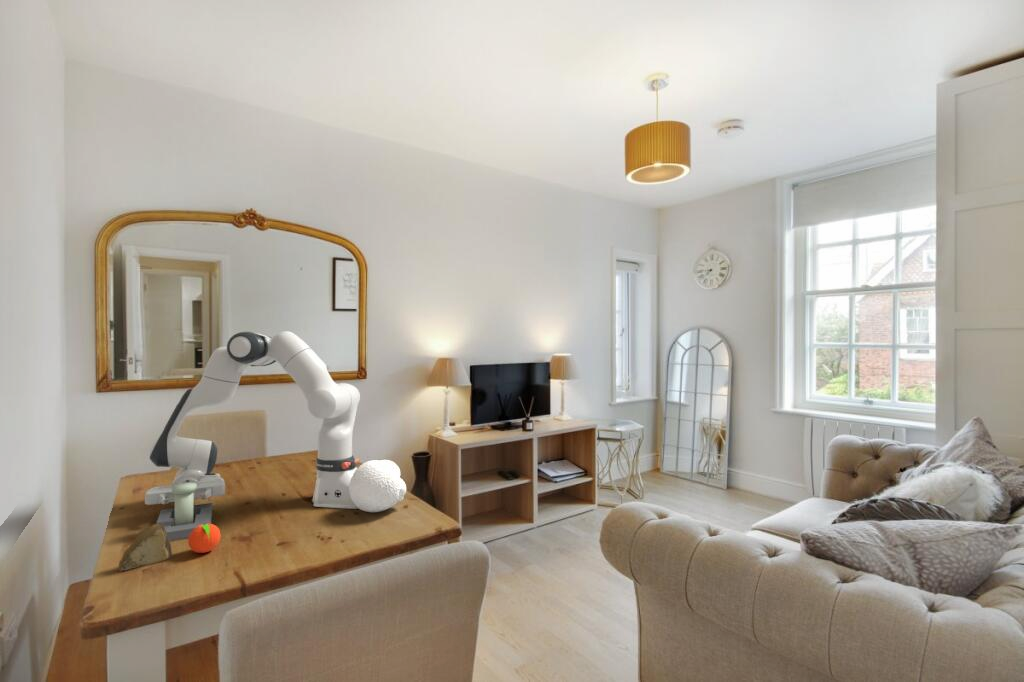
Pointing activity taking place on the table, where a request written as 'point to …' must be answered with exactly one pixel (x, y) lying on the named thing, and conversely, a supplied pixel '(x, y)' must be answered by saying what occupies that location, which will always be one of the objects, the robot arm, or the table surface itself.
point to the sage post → (184, 502)
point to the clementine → (204, 538)
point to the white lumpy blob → (376, 486)
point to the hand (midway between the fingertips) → (185, 498)
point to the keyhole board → (184, 531)
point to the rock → (147, 548)
